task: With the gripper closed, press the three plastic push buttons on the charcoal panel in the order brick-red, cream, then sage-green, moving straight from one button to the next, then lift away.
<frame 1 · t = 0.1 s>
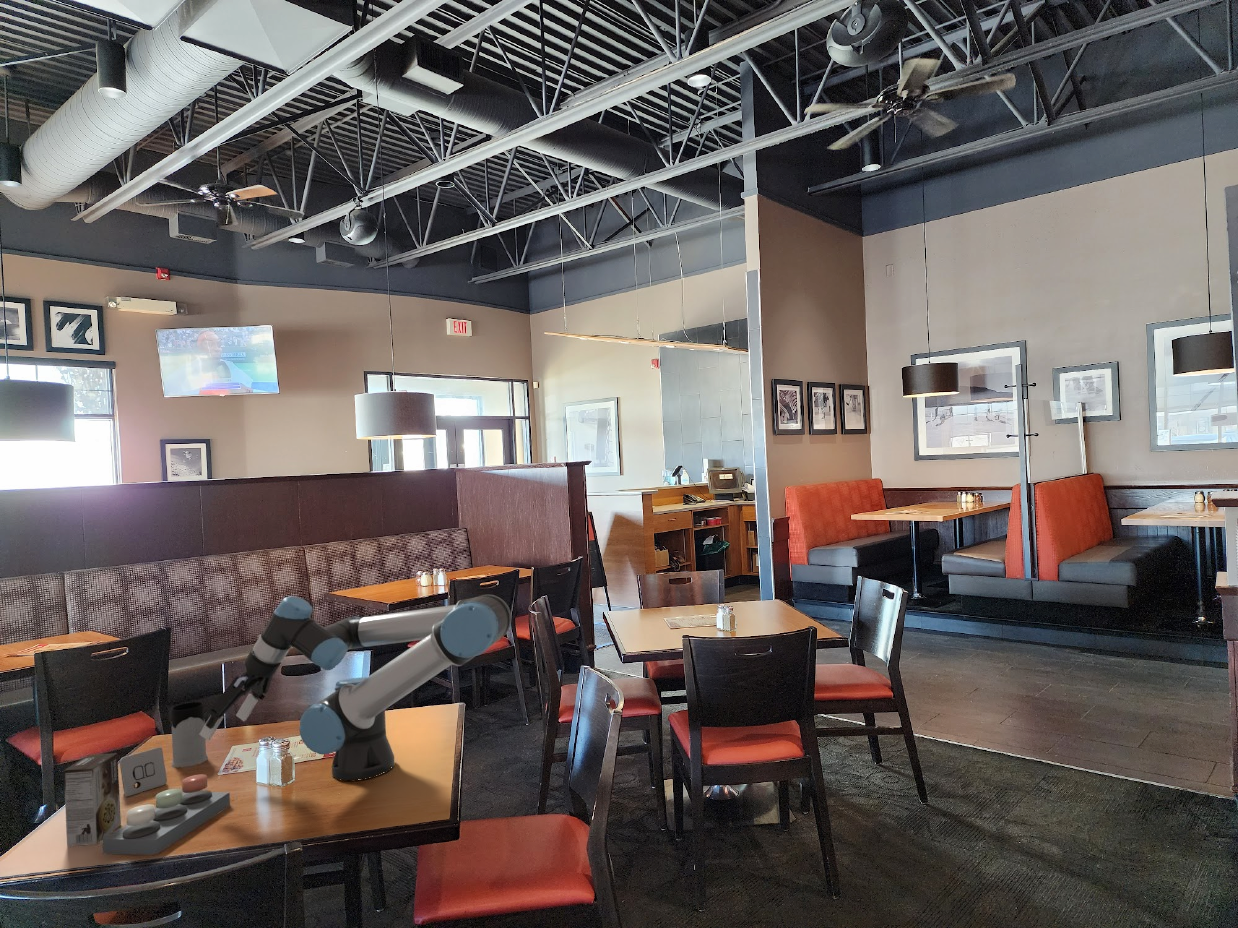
hand: (223, 727, 186), 15 cm above the table, tool tilted 35°, fingers open, 13 cm apart
green button: (169, 798, 166), point 6 cm above the table, slide at 0.0 cm
cream button: (140, 814, 158), point 6 cm above the table, slide at 0.0 cm
cookie box: (94, 836, 164), on the table
glass holder: (188, 759, 210), on the table
button panel: (170, 827, 166), on the table
red button: (194, 783, 174), point 6 cm above the table, slide at 0.0 cm
electrical switch: (142, 789, 189), on the table
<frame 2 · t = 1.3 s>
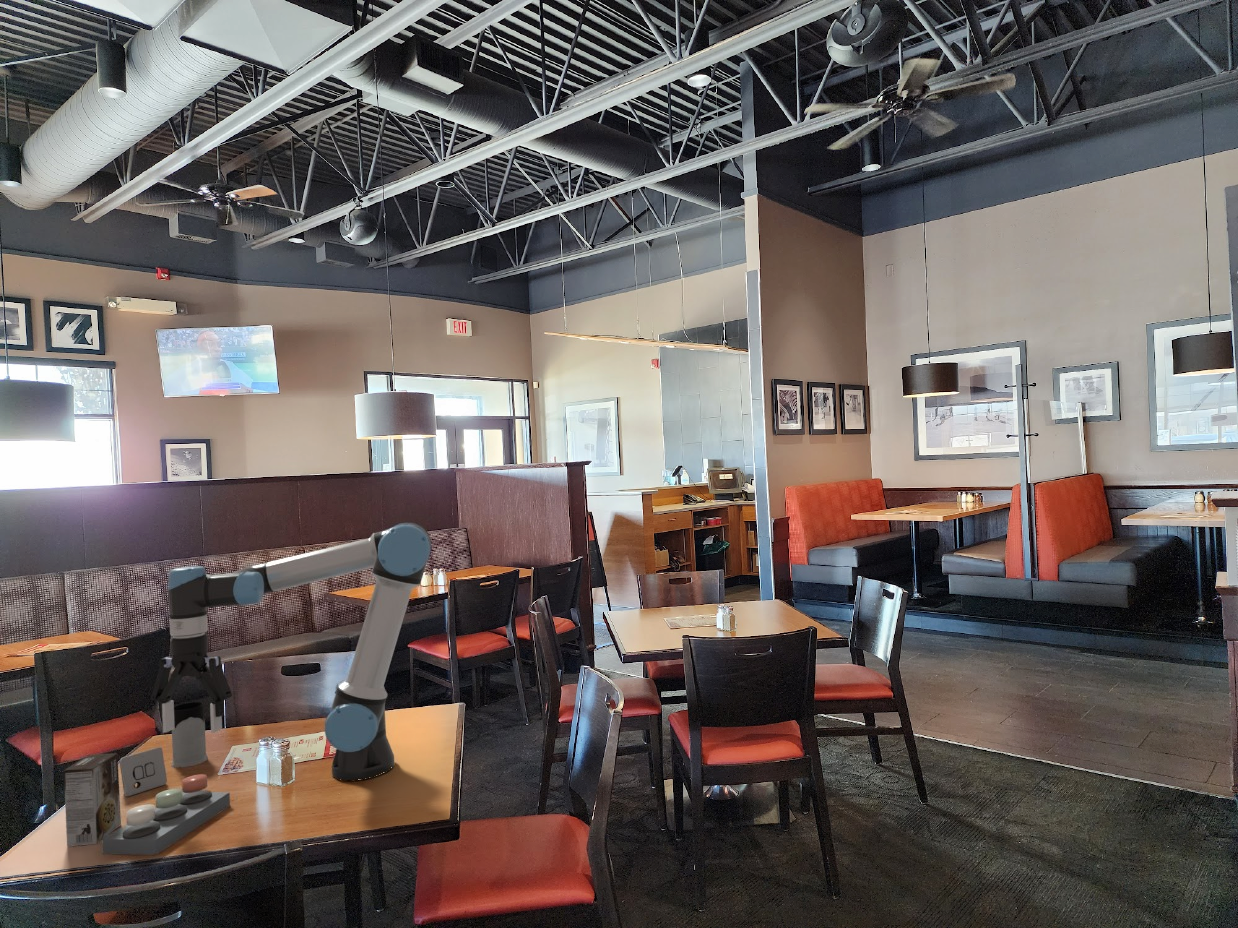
hand: (192, 730, 174), 18 cm above the table, tool pointing down, fingers open, 11 cm apart
nothing on the table moved.
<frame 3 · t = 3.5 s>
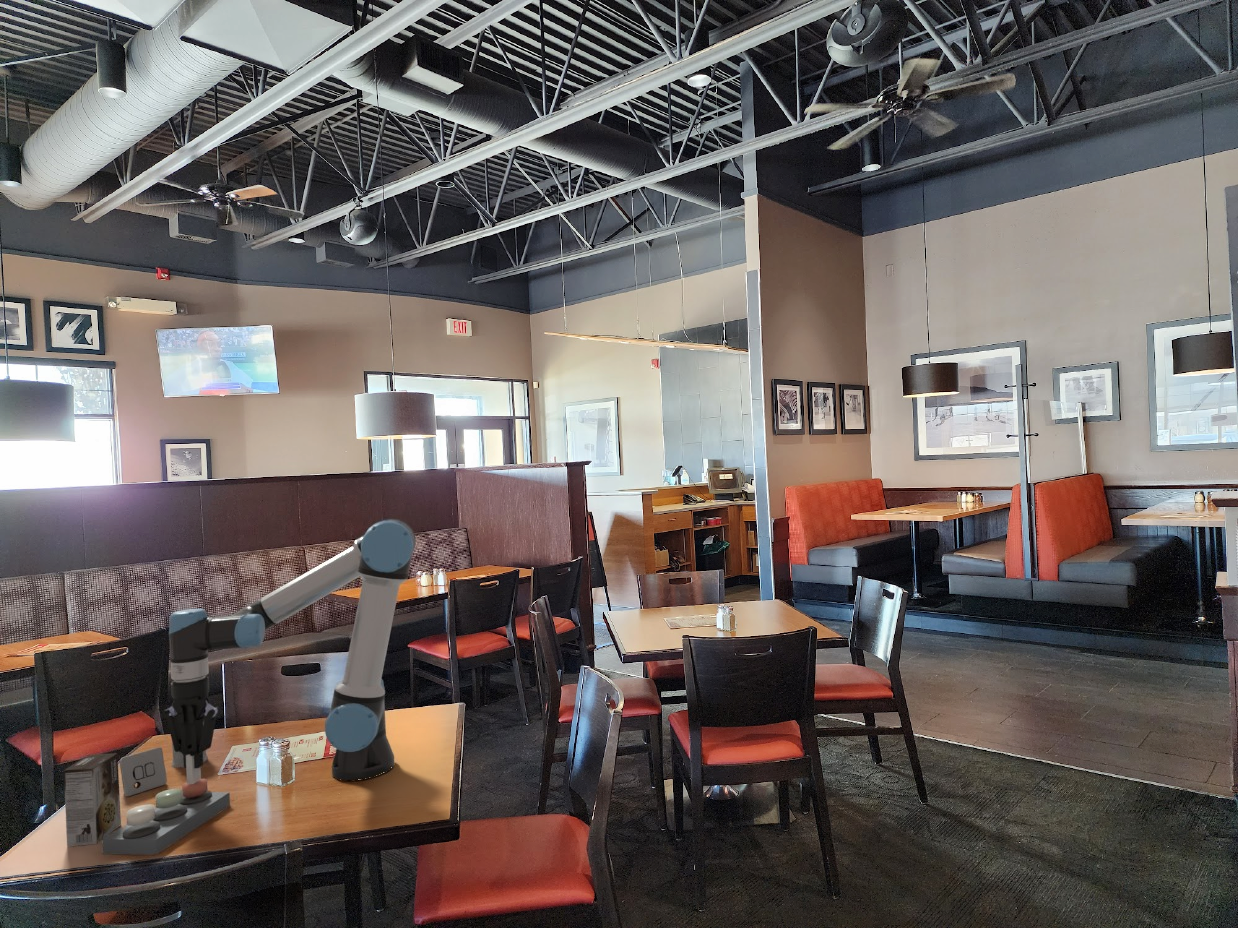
hand: (194, 781, 174), 7 cm above the table, tool pointing down, fingers closed
red button: (194, 787, 174), point 5 cm above the table, slide at 1.0 cm, touching gripper
everything else where it was.
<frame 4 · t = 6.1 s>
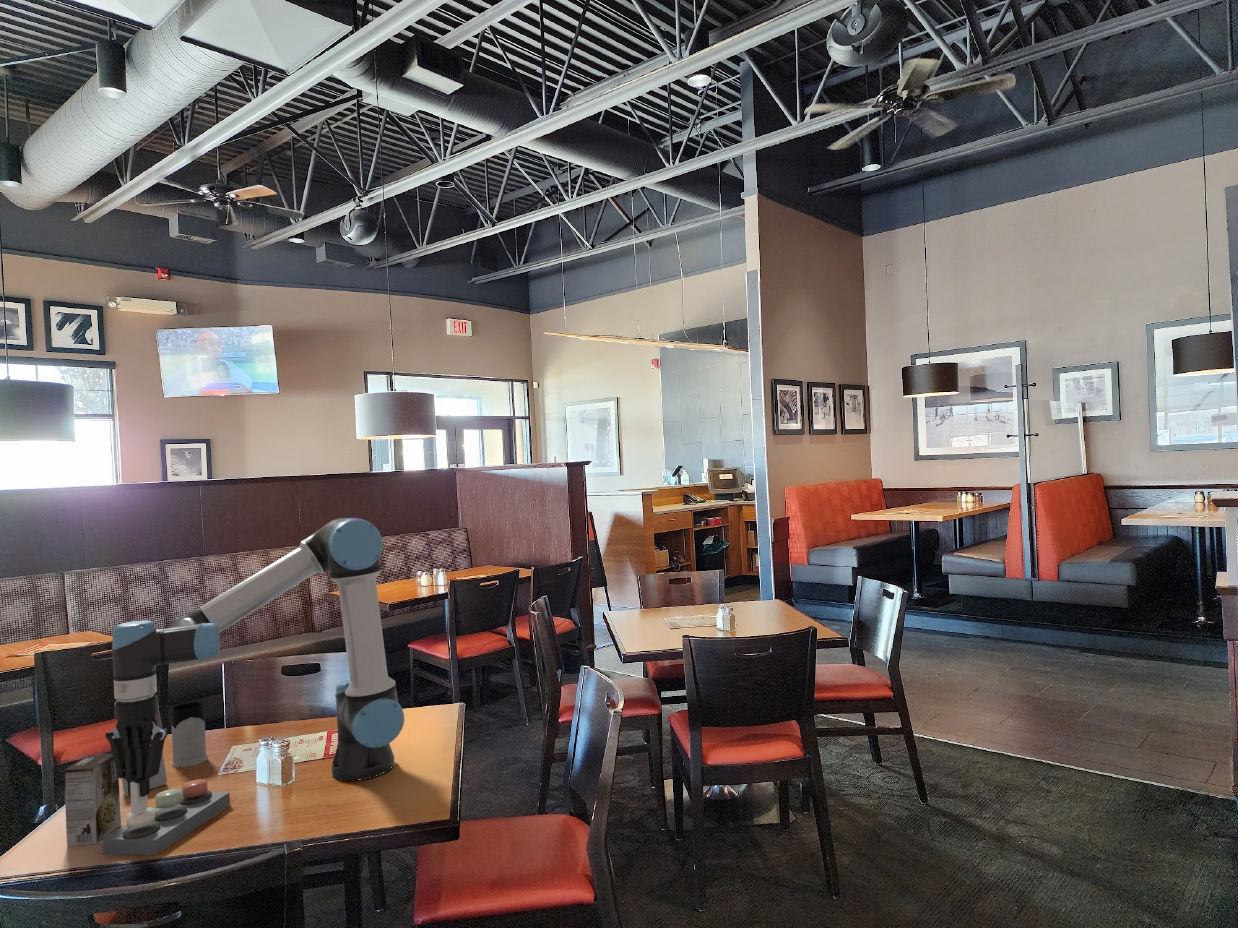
hand: (139, 811, 158), 7 cm above the table, tool pointing down, fingers closed
cream button: (141, 817, 158), point 6 cm above the table, slide at 0.6 cm, touching gripper
red button: (194, 788, 174), point 5 cm above the table, slide at 1.1 cm
everything else where it was.
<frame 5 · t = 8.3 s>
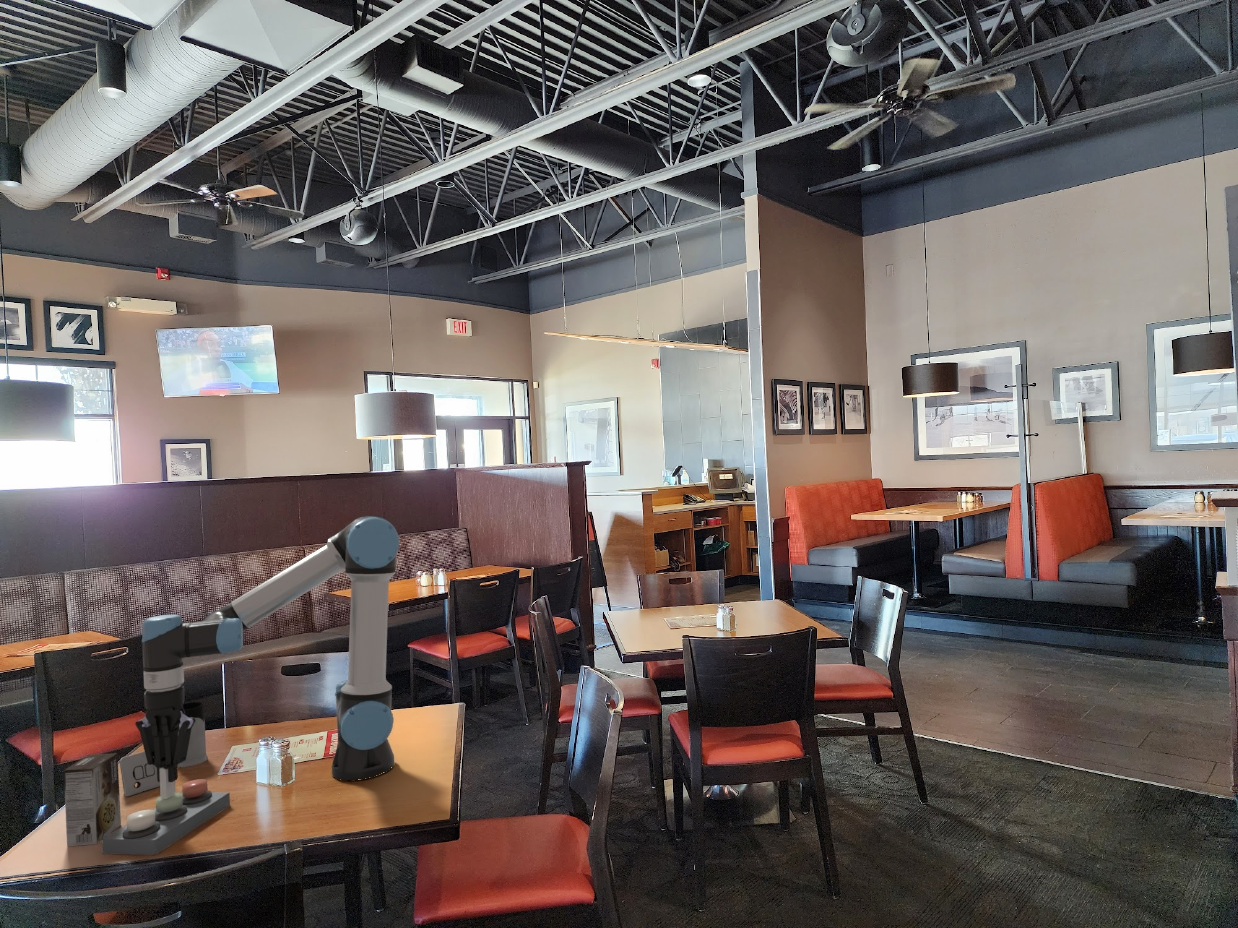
hand: (168, 796, 166), 7 cm above the table, tool pointing down, fingers closed
green button: (169, 802, 166), point 6 cm above the table, slide at 0.9 cm
cream button: (141, 819, 158), point 5 cm above the table, slide at 1.1 cm
everything else where it was.
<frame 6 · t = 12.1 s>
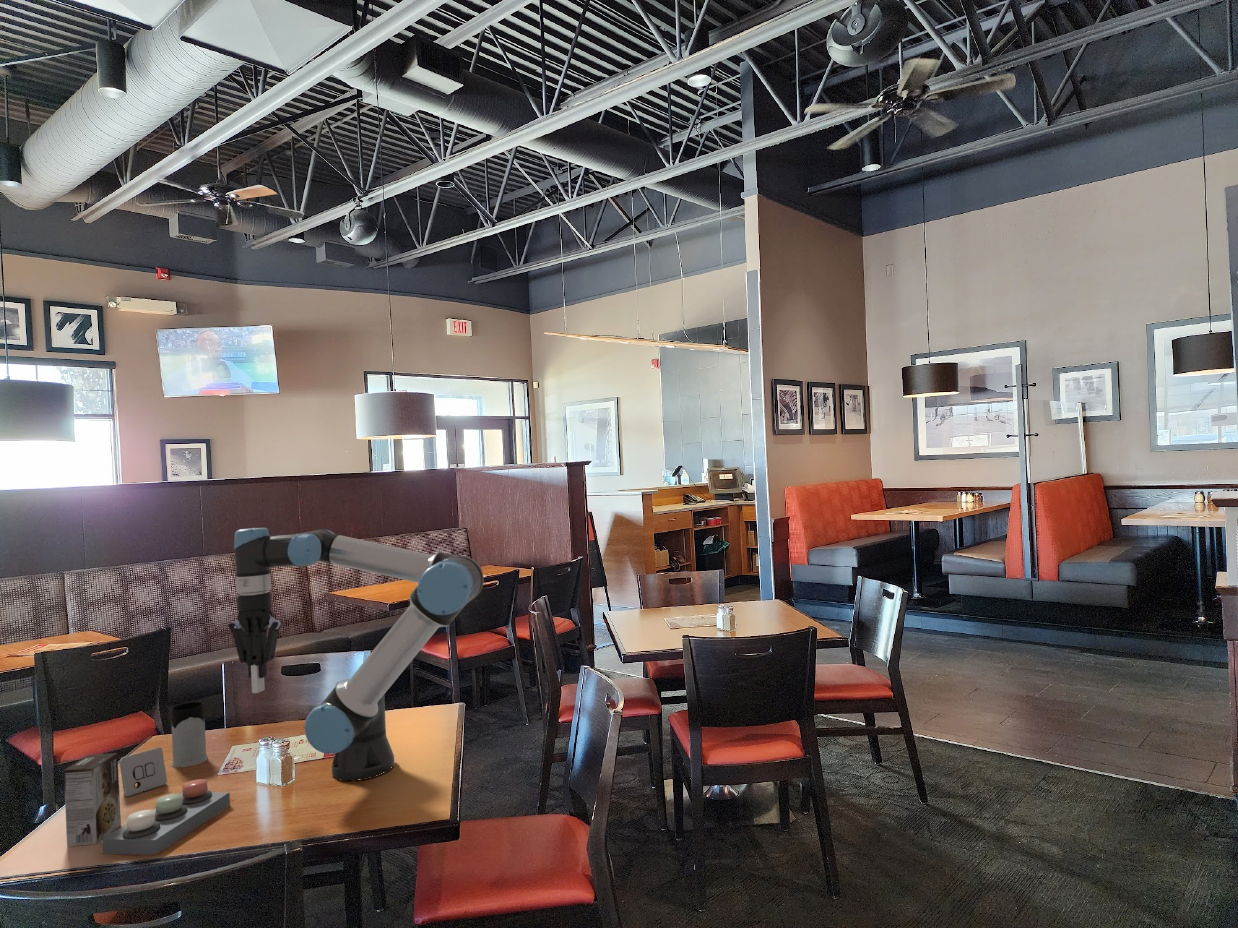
hand: (258, 691, 183), 24 cm above the table, tool pointing down, fingers closed
nothing on the table moved.
at the end: red button slide at 1.1 cm; cream button slide at 1.1 cm; green button slide at 1.1 cm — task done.
